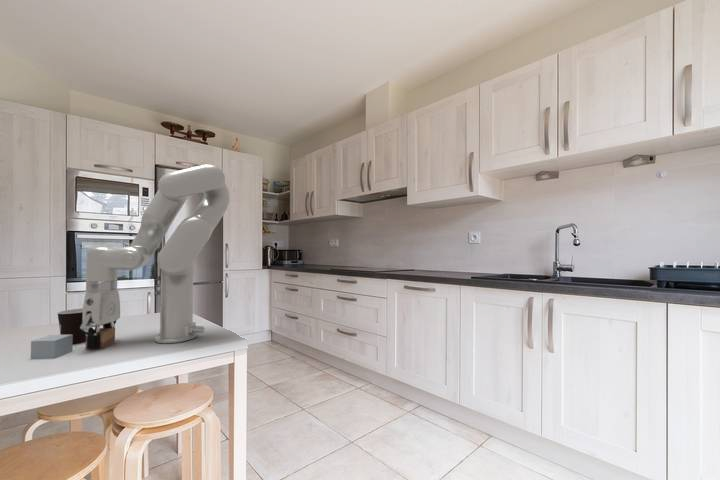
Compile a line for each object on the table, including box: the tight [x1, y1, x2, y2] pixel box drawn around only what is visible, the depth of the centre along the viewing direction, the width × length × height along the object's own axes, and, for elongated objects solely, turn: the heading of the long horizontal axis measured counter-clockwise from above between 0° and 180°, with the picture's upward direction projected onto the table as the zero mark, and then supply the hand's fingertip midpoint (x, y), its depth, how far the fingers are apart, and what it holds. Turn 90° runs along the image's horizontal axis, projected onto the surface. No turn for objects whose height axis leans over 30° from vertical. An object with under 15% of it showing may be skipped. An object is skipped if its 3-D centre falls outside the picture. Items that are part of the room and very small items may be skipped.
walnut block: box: [85, 327, 116, 350], centre depth 96 cm, size 5×5×5 cm
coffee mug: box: [57, 307, 86, 346], centre depth 102 cm, size 12×9×10 cm
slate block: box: [30, 334, 73, 360], centre depth 89 cm, size 6×6×5 cm
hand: (100, 344), depth 96 cm, fingers closed on walnut block, 5 cm apart
